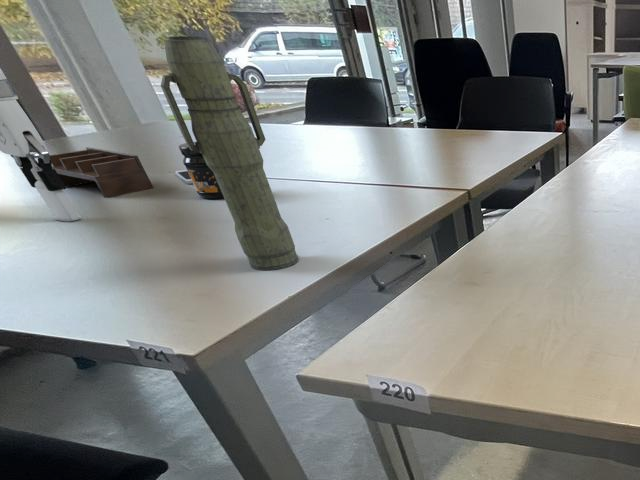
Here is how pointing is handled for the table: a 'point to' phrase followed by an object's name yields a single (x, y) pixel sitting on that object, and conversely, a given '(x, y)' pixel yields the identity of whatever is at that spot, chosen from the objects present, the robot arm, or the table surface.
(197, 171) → the supplement container
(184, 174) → the smartphone
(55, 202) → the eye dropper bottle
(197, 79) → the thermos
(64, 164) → the shelf
